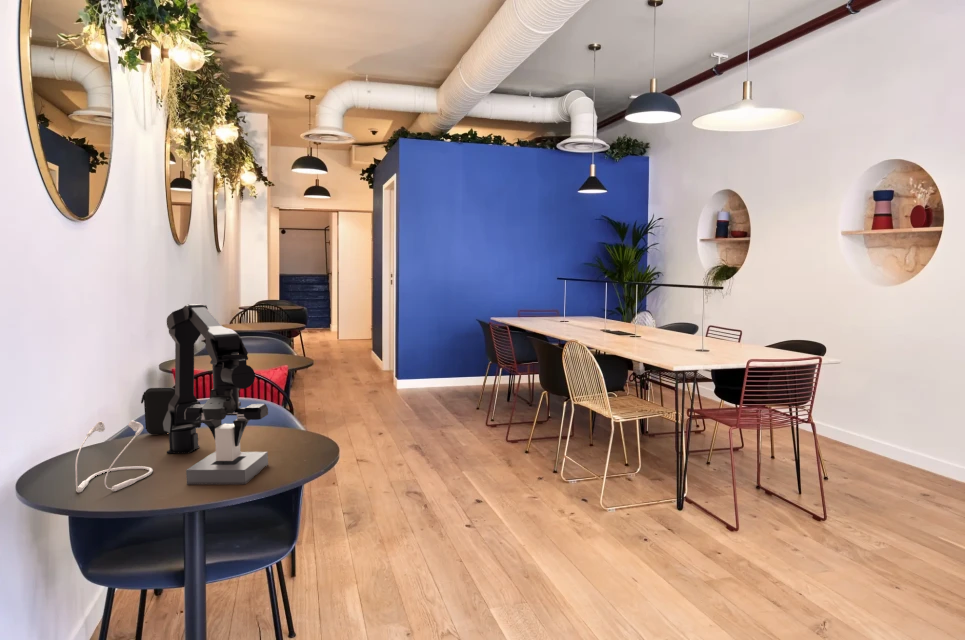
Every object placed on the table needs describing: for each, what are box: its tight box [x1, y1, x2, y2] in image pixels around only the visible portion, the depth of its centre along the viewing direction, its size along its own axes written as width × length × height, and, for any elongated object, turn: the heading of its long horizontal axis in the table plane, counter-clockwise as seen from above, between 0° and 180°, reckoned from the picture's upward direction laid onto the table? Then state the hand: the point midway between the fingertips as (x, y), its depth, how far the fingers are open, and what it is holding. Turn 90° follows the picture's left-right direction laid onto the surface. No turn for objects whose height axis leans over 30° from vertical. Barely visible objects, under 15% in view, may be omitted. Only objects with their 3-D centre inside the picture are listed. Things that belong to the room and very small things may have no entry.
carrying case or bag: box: [140, 386, 175, 435], centre depth 197 cm, size 11×3×15 cm, turn 96°
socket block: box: [185, 451, 269, 485], centre depth 157 cm, size 14×15×4 cm
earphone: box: [74, 420, 154, 493], centre depth 154 cm, size 14×17×18 cm
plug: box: [214, 423, 242, 461], centre depth 158 cm, size 4×6×8 cm, turn 179°
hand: (228, 446), depth 157 cm, fingers closed on plug, 4 cm apart
